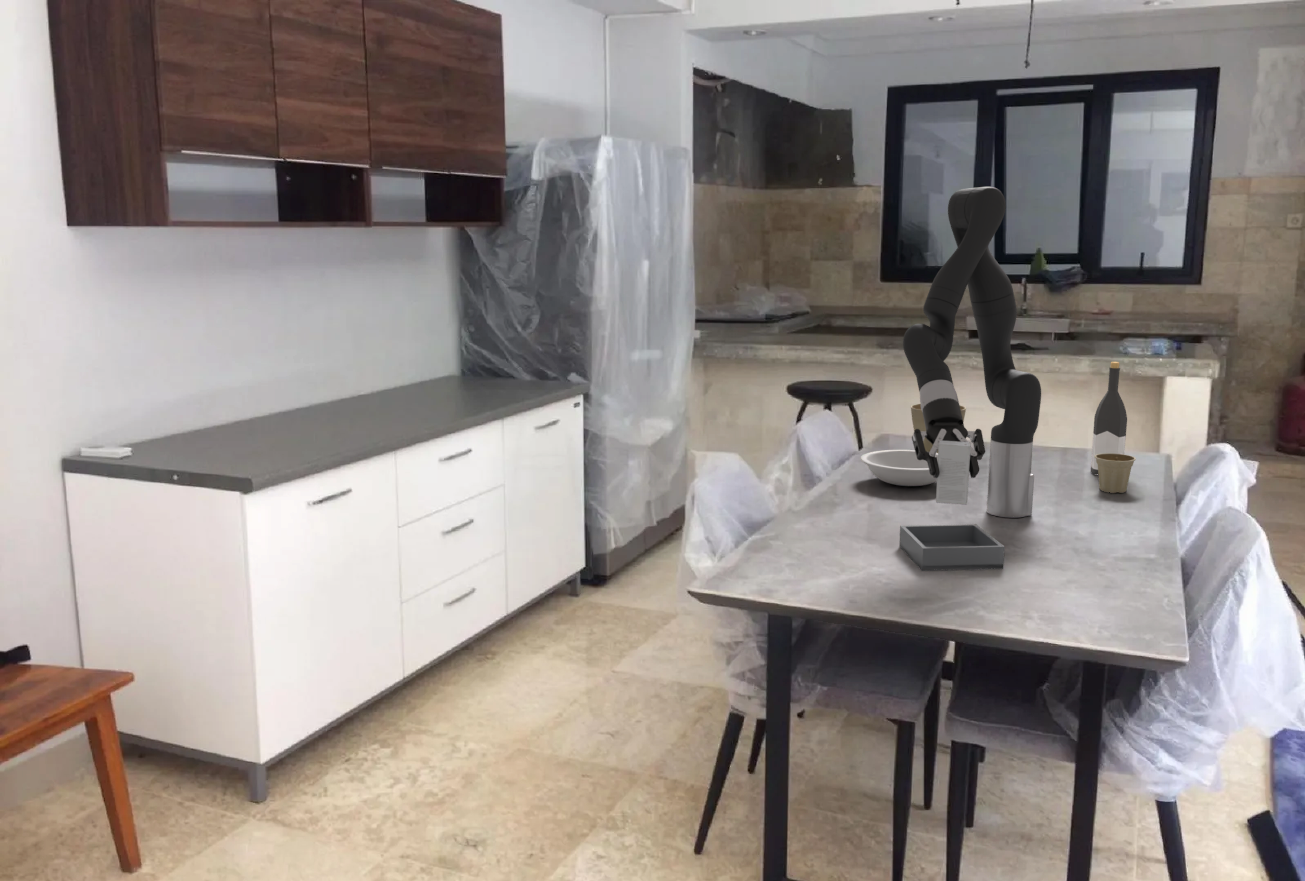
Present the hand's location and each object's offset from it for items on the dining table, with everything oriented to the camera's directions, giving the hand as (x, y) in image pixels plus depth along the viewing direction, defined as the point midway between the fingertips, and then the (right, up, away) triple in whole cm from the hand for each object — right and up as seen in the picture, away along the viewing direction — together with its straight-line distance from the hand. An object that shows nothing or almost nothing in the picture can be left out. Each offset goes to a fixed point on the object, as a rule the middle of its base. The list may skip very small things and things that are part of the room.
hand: (955, 475), depth 210 cm
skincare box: (0, -5, +3) cm, 6 cm away
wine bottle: (+62, -2, +75) cm, 97 cm away
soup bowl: (+6, -4, +66) cm, 66 cm away
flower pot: (+56, -6, +57) cm, 80 cm away
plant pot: (+20, +1, +90) cm, 92 cm away
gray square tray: (0, -17, +5) cm, 17 cm away
